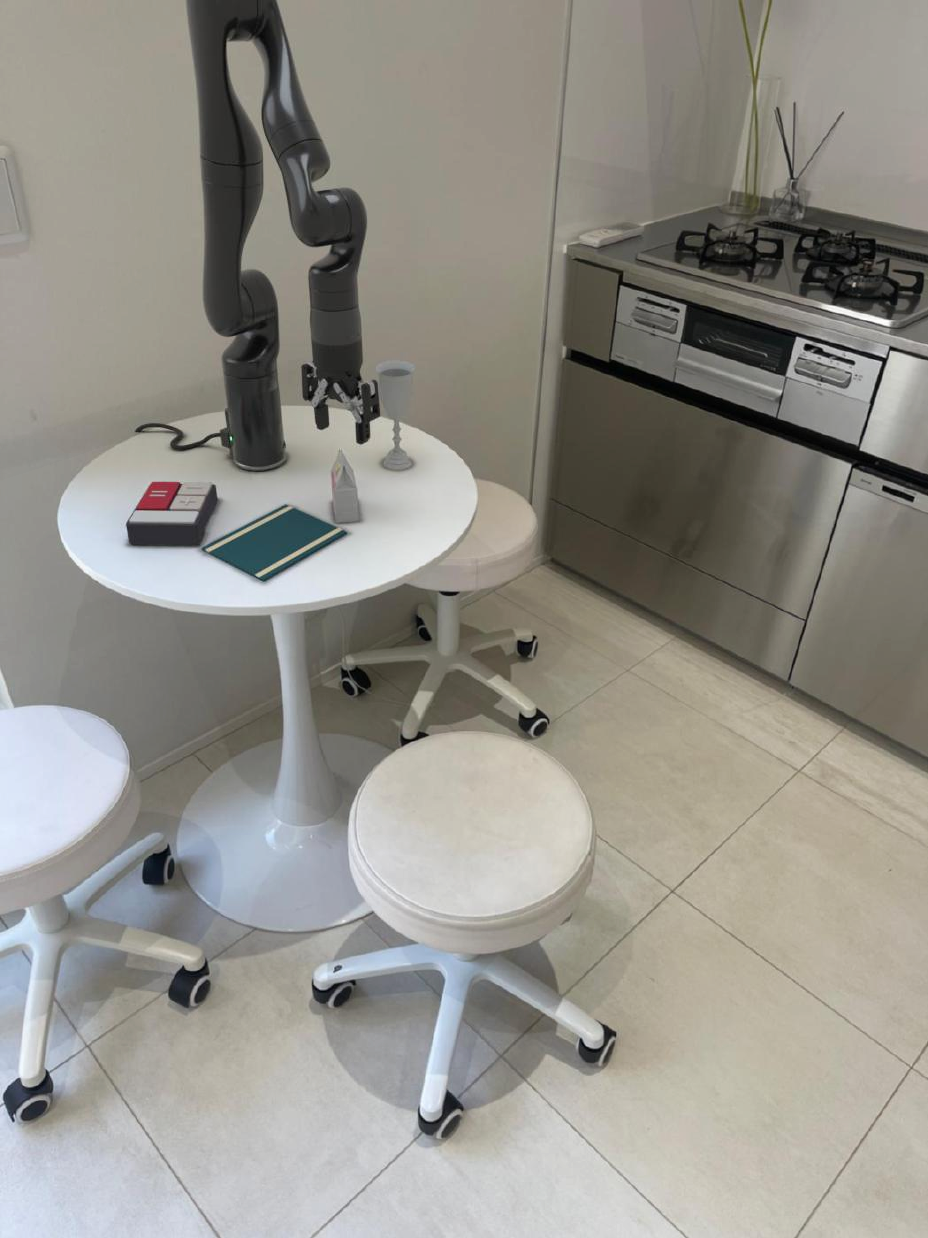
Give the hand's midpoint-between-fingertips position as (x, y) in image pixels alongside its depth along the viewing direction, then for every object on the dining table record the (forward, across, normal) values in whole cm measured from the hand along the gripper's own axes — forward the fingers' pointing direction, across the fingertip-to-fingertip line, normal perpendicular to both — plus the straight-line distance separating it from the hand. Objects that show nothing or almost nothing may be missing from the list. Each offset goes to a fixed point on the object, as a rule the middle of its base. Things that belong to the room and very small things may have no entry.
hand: (342, 435), depth 151 cm
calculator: (+14, +19, +20) cm, 31 cm away
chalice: (+14, +5, -19) cm, 24 cm away
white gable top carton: (+14, 0, 0) cm, 14 cm away
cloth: (+14, +2, +14) cm, 20 cm away
